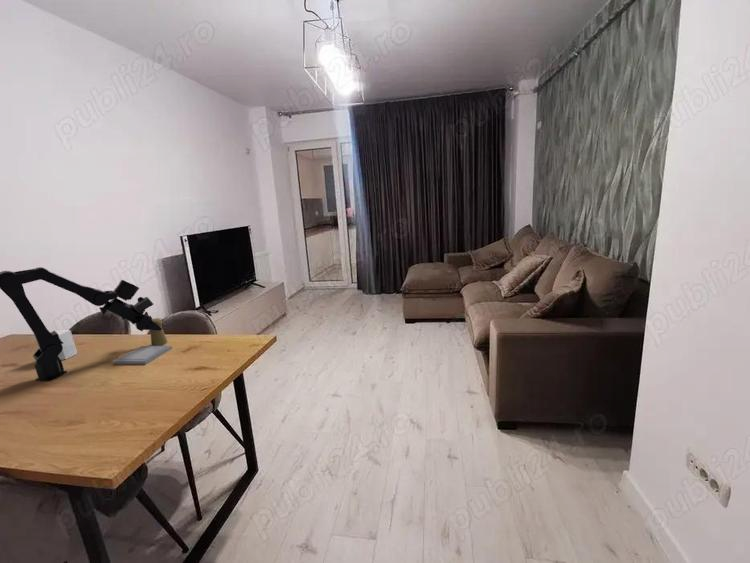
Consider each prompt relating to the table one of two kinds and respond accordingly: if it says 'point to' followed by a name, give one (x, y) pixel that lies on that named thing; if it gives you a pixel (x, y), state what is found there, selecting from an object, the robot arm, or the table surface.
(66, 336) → the small box
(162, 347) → the plate
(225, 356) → the table surface
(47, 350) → the robot arm
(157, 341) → the cork
